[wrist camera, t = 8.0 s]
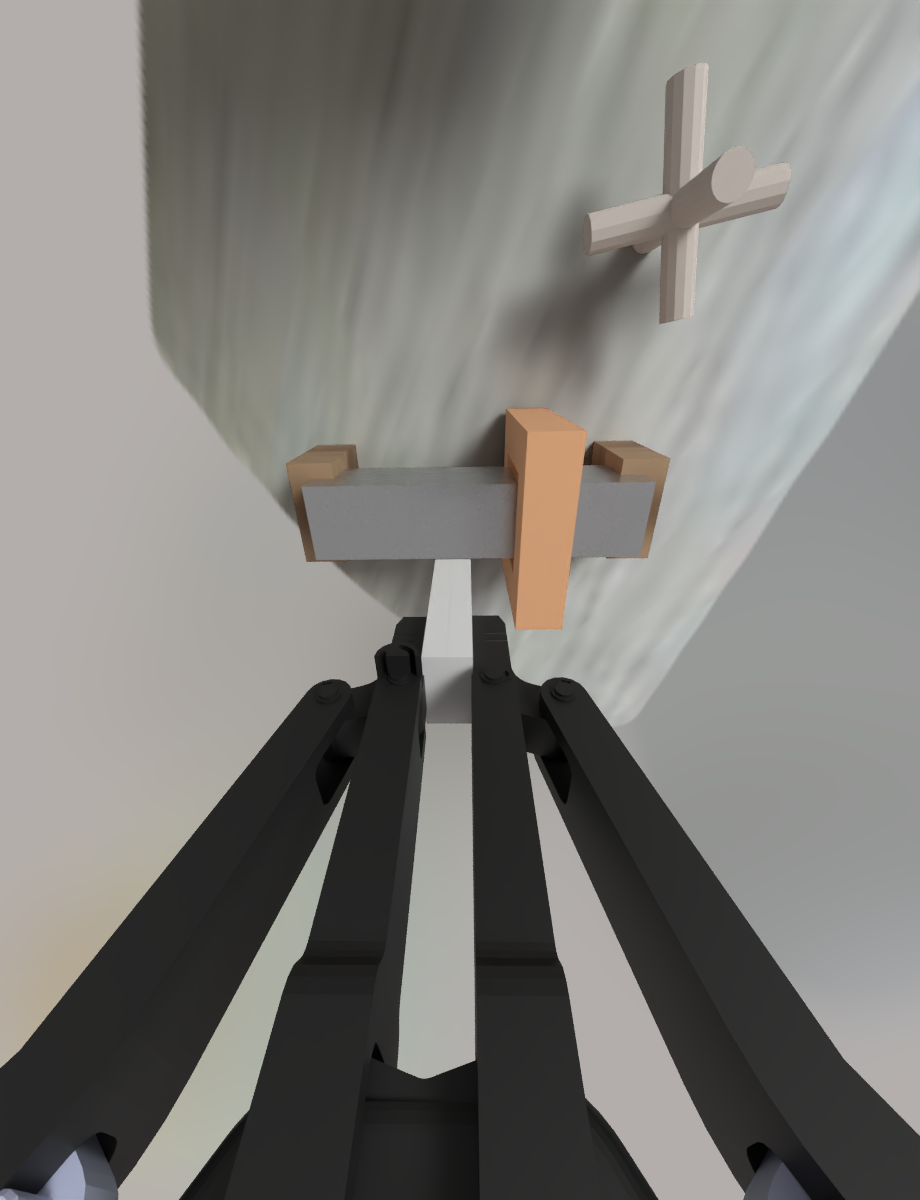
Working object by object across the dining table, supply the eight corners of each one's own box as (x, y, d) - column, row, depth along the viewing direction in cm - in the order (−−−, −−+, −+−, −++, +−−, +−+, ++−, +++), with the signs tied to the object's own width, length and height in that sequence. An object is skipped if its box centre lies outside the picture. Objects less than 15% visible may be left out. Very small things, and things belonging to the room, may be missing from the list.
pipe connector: (572, 343, 30) (618, 335, 21) (561, 151, 25) (614, 38, 16) (718, 309, 29) (829, 286, 20) (736, 102, 24) (892, -46, 15)
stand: (317, 445, 33) (285, 463, 27) (632, 440, 33) (670, 458, 27) (332, 528, 37) (306, 561, 31) (616, 525, 36) (647, 557, 30)
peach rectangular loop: (506, 408, 31) (527, 431, 21) (546, 408, 31) (587, 431, 21) (500, 555, 37) (515, 629, 27) (534, 554, 37) (561, 629, 27)
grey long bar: (324, 468, 30) (301, 486, 26) (628, 464, 30) (656, 482, 26) (335, 533, 33) (316, 560, 28) (616, 530, 33) (639, 556, 28)
